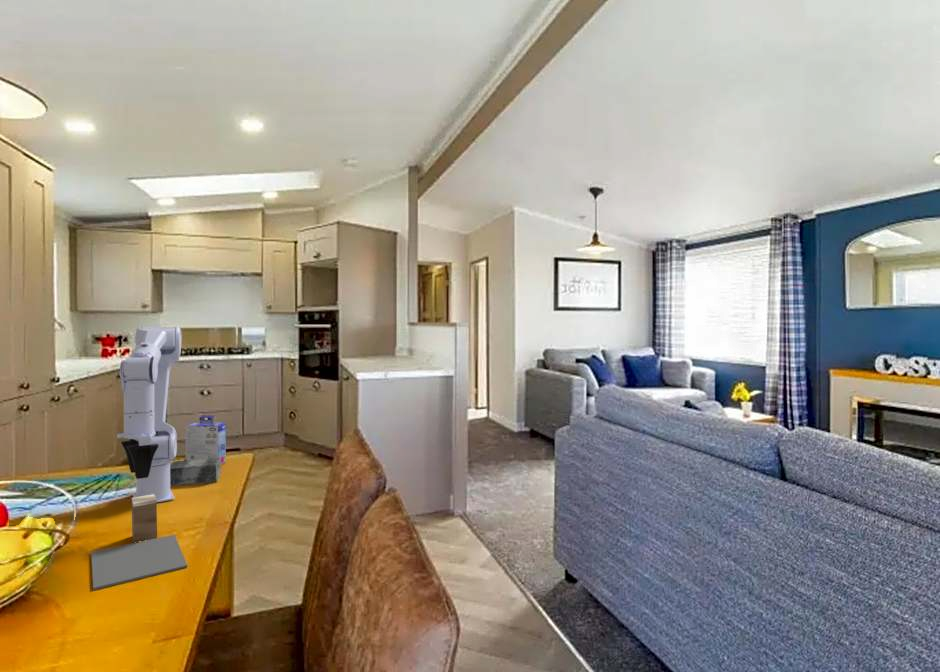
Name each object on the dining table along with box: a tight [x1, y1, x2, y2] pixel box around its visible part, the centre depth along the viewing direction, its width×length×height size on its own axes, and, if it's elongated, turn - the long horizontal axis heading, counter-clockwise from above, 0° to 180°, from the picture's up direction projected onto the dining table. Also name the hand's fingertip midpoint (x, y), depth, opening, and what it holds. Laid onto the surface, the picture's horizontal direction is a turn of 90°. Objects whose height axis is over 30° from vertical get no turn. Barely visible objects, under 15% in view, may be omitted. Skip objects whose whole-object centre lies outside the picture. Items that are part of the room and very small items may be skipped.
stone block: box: [170, 457, 222, 487], centre depth 146 cm, size 9×14×5 cm, turn 105°
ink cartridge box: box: [185, 414, 227, 465], centre depth 160 cm, size 10×6×14 cm, turn 91°
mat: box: [90, 534, 188, 591], centre depth 100 cm, size 16×14×1 cm
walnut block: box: [131, 494, 158, 543], centre depth 110 cm, size 4×4×8 cm
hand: (139, 474), depth 117 cm, fingers open, 7 cm apart
